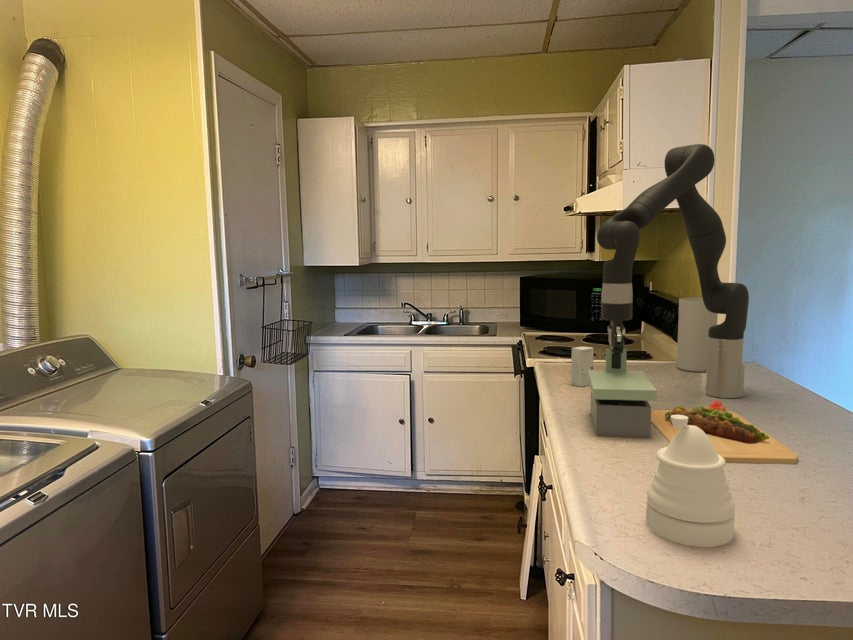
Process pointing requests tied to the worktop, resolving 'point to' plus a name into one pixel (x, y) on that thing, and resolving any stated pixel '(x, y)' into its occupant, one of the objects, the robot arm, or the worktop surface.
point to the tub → (621, 418)
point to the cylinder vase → (693, 334)
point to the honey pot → (690, 491)
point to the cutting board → (727, 434)
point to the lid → (620, 382)
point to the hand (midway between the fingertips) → (615, 367)
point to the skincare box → (581, 365)
